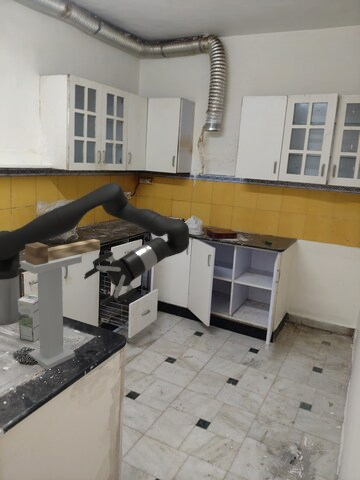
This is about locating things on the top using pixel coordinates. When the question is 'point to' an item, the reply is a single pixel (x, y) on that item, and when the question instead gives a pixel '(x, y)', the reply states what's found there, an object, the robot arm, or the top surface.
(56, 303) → the stand
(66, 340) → the top surface
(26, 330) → the syrup box
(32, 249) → the mallet
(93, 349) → the top surface
